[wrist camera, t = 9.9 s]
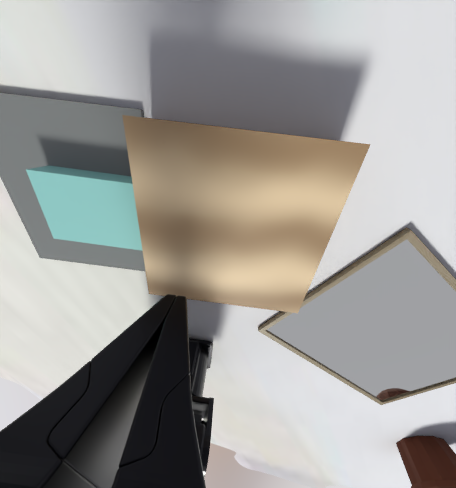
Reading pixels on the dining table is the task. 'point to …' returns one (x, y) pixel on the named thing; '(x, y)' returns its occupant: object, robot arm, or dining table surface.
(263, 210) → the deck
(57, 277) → the dining table surface
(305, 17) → the dining table surface
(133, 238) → the teal rectangular block
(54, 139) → the mat
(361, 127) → the dining table surface
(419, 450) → the muffin
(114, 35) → the dining table surface
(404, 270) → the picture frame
